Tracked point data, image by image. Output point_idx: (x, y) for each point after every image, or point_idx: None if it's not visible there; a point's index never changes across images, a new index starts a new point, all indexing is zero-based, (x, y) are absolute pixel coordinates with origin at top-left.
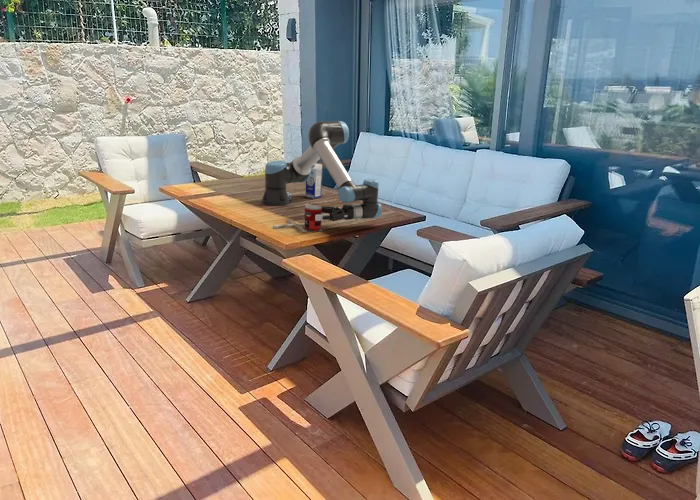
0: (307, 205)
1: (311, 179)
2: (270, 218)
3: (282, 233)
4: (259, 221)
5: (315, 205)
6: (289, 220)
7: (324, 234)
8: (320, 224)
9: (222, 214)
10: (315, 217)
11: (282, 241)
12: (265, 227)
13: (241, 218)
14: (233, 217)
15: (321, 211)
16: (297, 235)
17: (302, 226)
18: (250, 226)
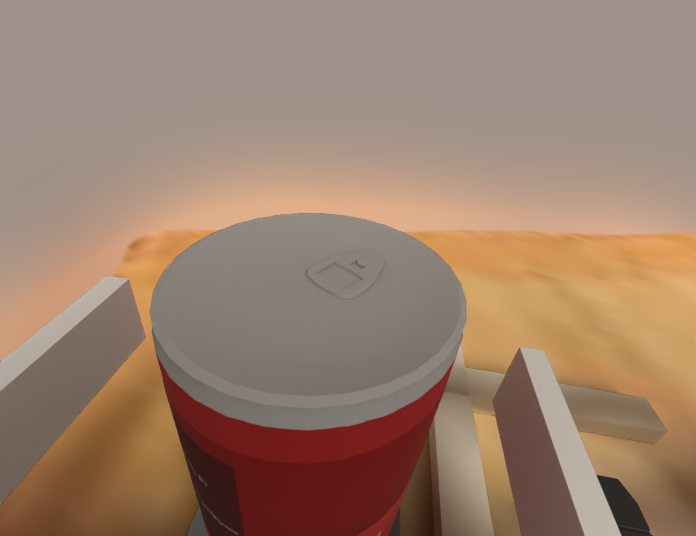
0: (424, 256)
1: None
2: (682, 348)
3: None
4: (582, 283)
5: (406, 350)
6: (582, 391)
7: (59, 516)
8: (205, 523)
9: (682, 234)
10: (131, 307)
11: (197, 232)
12: (455, 264)
13: (629, 254)
14: (639, 242)
15: (193, 435)
16: None
17: (430, 441)
18: (481, 236)
